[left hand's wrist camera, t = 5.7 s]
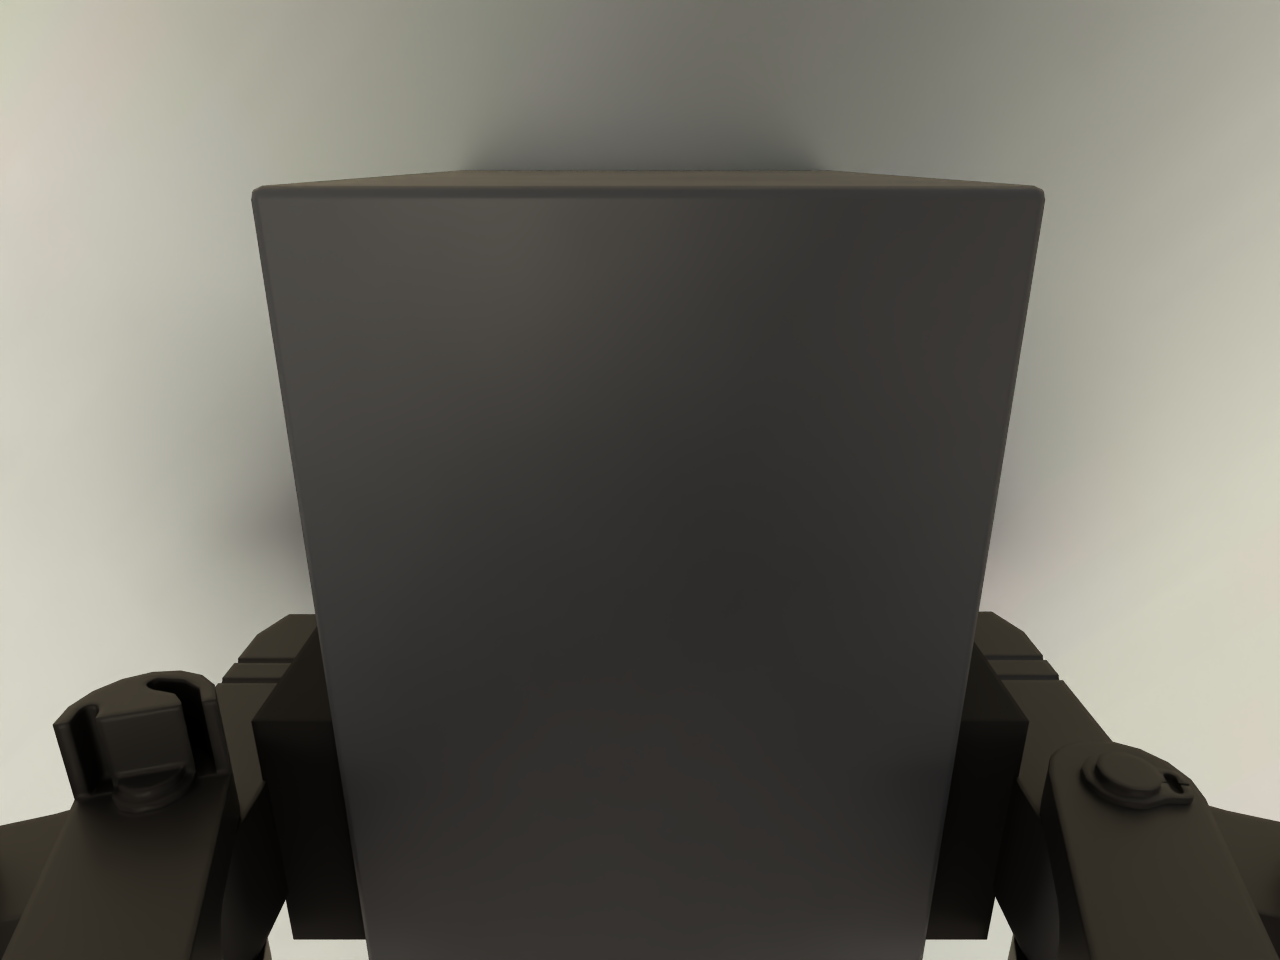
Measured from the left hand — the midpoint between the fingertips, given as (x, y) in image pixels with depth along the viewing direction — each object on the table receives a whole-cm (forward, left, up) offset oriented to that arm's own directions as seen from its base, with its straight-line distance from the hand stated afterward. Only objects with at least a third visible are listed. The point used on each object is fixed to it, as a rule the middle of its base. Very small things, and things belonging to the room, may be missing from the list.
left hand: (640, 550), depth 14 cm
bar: (+31, +7, -1) cm, 31 cm away
